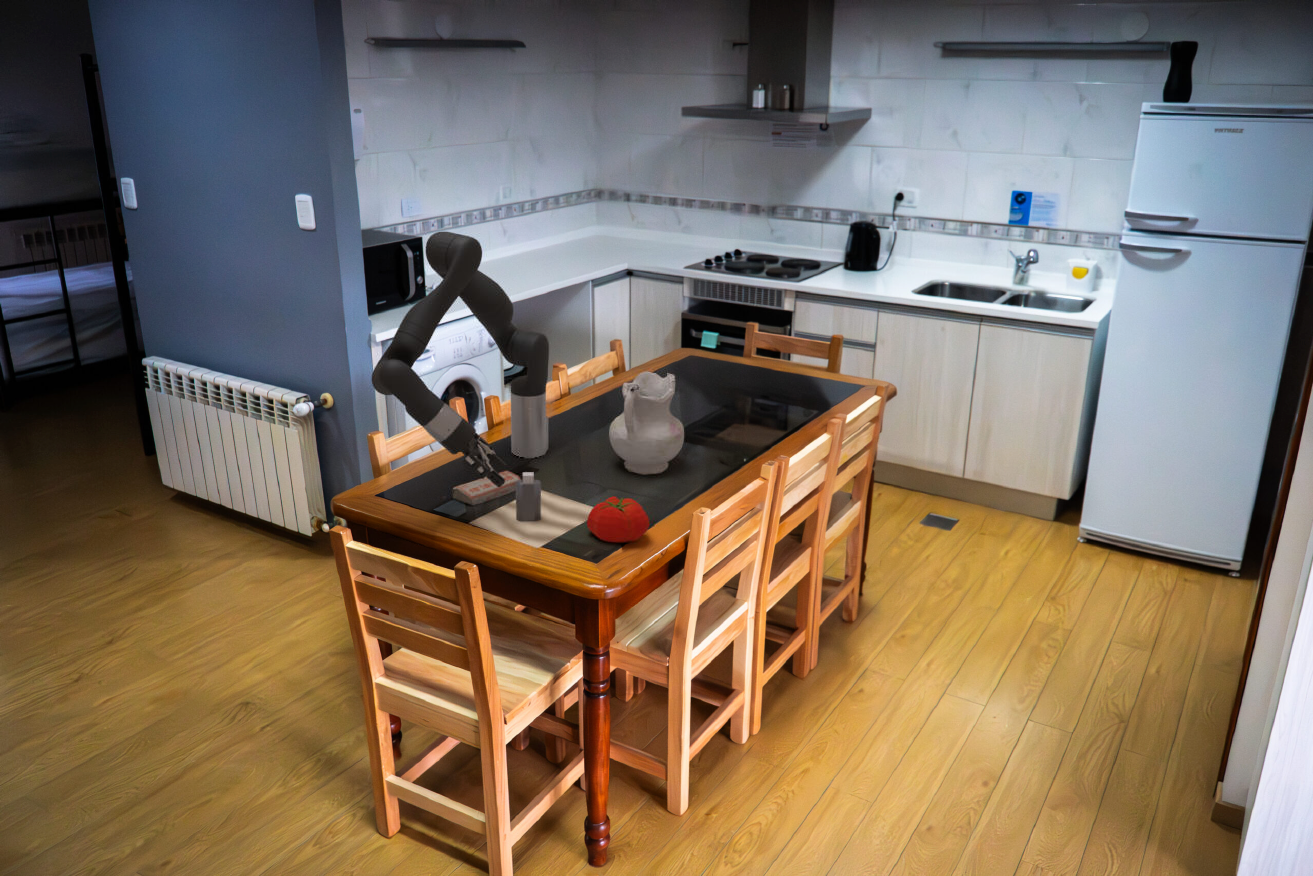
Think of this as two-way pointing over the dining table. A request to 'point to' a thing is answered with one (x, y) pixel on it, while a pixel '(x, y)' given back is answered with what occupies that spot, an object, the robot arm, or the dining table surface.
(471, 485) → the packaged product
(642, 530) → the tomato
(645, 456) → the ceramic pitcher
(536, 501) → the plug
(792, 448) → the dining table surface
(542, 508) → the cloth
